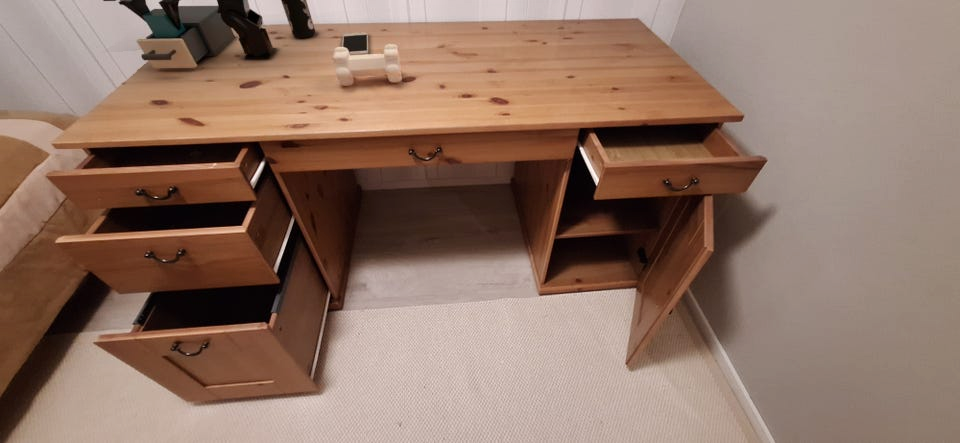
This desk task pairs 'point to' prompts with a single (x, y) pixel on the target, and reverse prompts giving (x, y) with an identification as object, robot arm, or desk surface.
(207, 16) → the cabinet
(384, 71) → the bone shaped toy
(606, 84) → the desk surface
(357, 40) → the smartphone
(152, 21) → the block
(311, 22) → the beverage can
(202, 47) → the drawer
